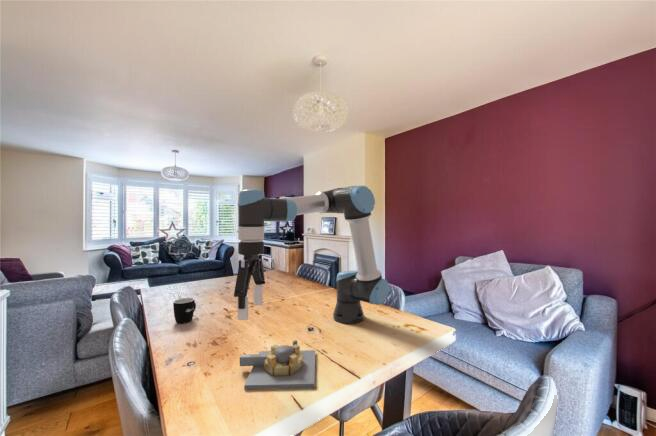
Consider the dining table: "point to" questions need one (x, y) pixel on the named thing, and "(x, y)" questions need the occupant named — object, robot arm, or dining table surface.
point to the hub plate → (296, 380)
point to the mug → (184, 310)
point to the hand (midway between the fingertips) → (251, 311)
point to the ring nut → (270, 361)
